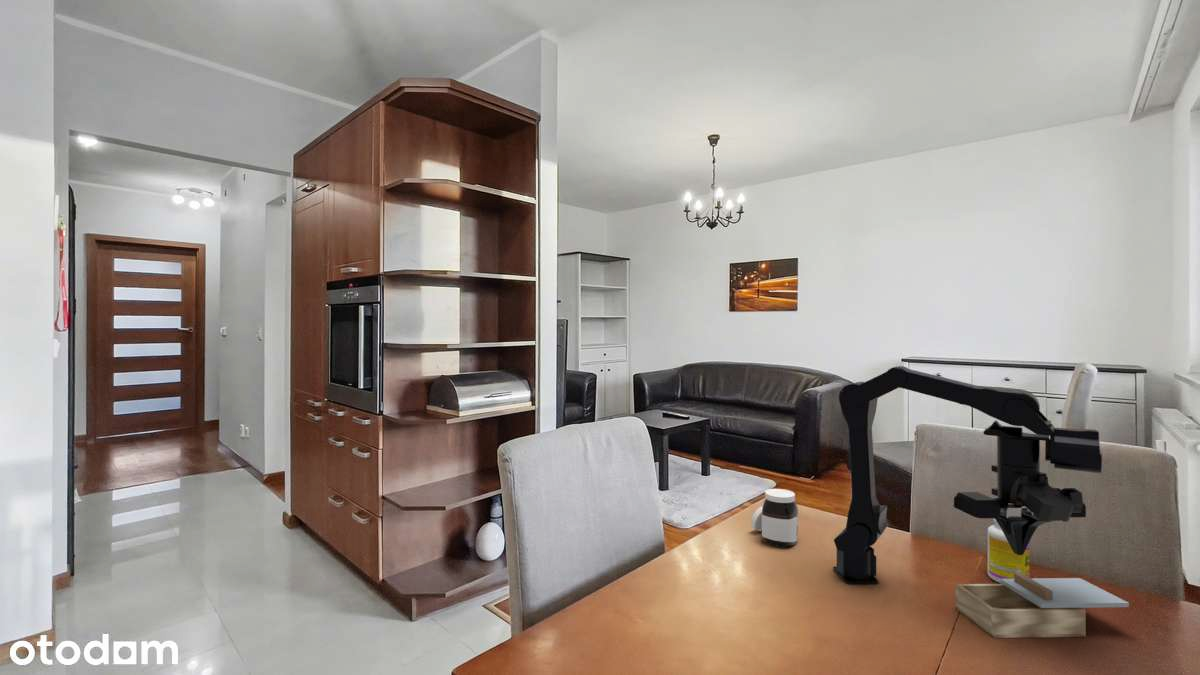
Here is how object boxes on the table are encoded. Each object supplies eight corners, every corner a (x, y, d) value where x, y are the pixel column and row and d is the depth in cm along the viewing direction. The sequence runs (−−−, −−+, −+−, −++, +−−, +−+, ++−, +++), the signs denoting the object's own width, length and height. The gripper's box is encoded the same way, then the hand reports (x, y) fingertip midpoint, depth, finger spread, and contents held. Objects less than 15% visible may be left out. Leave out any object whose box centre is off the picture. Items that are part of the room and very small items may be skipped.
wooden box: (994, 637, 84) (994, 611, 84) (956, 608, 93) (955, 584, 93) (1085, 636, 85) (1085, 610, 84) (1038, 607, 94) (1038, 583, 93)
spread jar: (791, 552, 118) (791, 501, 118) (742, 541, 124) (742, 493, 124) (803, 534, 128) (803, 487, 128) (757, 525, 134) (757, 481, 134)
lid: (1041, 608, 85) (1041, 594, 85) (1000, 582, 93) (1000, 570, 93) (1128, 607, 85) (1128, 593, 85) (1079, 581, 93) (1079, 569, 93)
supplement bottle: (1032, 591, 99) (1032, 524, 99) (989, 583, 103) (989, 518, 103) (1026, 577, 105) (1026, 514, 105) (985, 569, 109) (985, 508, 108)
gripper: (1001, 477, 81) (1001, 576, 81) (1119, 475, 81) (1119, 575, 81) (951, 459, 92) (951, 547, 92) (1055, 458, 92) (1056, 546, 92)
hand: (1018, 554), depth 89 cm, fingers closed
